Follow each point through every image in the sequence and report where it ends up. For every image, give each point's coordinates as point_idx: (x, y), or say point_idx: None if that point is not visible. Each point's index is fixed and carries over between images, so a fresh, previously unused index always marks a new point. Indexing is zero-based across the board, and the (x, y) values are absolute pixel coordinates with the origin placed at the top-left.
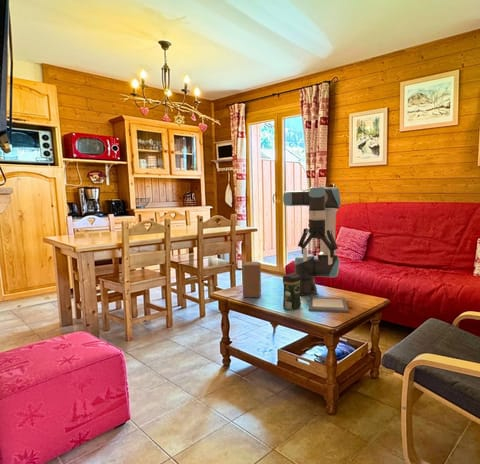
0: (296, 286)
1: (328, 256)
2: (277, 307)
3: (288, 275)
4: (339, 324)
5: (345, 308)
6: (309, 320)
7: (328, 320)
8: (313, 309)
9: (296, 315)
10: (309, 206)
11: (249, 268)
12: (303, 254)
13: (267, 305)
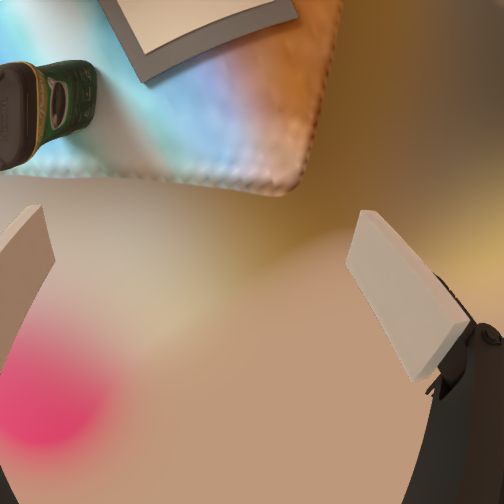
0: (50, 116)
1: (384, 326)
2: None
3: None
4: (305, 153)
5: (281, 2)
6: (198, 175)
7: (258, 136)
8: (160, 72)
9: (132, 158)
10: None
11: None
12: (15, 315)
13: None
